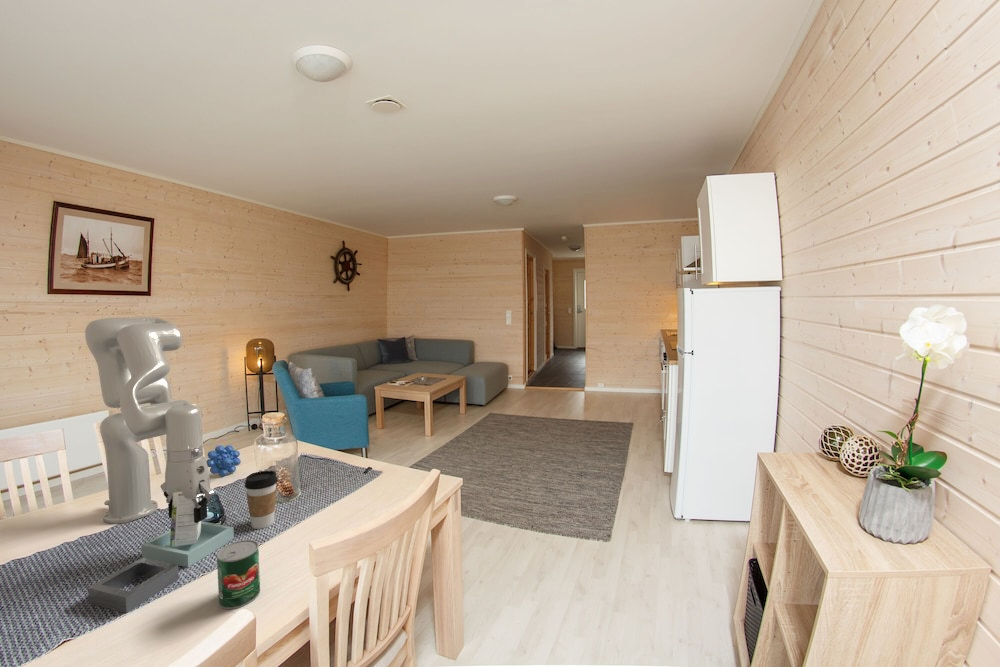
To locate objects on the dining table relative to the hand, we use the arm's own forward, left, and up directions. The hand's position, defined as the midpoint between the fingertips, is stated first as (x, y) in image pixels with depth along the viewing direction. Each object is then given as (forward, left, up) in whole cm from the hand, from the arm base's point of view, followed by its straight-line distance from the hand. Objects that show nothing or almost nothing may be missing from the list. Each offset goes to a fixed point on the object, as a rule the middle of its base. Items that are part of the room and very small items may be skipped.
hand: (188, 517), depth 110 cm
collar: (+4, -16, -8) cm, 19 cm away
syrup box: (0, -1, -6) cm, 6 cm away
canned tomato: (+28, -11, -9) cm, 32 cm away
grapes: (-30, +38, -9) cm, 49 cm away
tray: (0, 0, -8) cm, 8 cm away
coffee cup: (+9, +15, -8) cm, 19 cm away
